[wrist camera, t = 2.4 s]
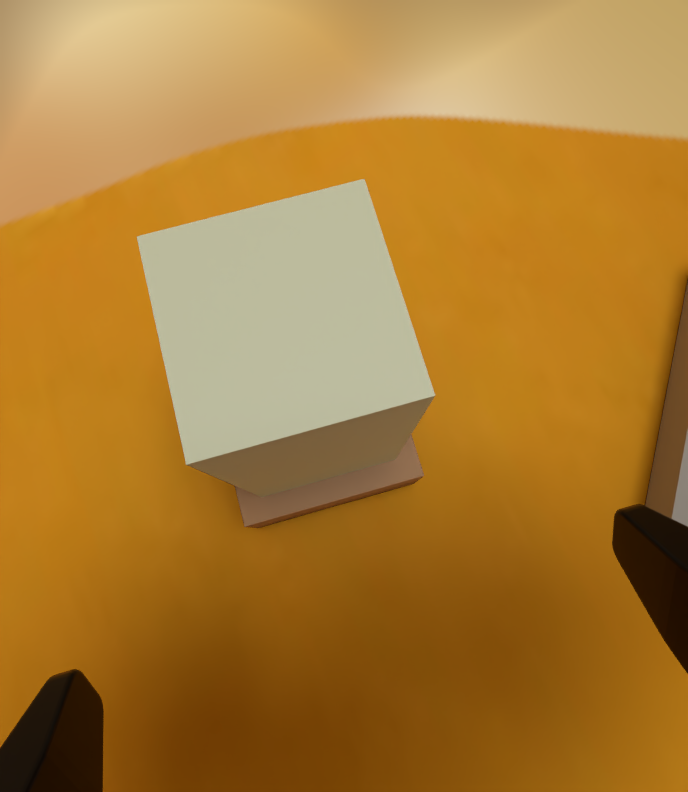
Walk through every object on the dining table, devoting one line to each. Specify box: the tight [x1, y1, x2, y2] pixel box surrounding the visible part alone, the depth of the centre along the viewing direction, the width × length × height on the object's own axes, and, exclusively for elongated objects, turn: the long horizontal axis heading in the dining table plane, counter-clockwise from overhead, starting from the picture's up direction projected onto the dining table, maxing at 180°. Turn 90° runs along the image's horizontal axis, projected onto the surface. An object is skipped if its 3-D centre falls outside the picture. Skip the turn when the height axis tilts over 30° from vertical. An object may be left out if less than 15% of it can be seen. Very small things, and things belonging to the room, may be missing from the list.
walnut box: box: [235, 435, 424, 528], centre depth 21 cm, size 6×6×3 cm
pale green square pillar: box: [137, 179, 435, 497], centre depth 15 cm, size 4×4×9 cm
